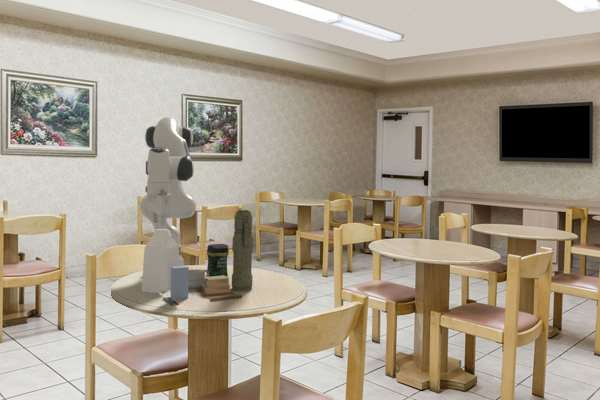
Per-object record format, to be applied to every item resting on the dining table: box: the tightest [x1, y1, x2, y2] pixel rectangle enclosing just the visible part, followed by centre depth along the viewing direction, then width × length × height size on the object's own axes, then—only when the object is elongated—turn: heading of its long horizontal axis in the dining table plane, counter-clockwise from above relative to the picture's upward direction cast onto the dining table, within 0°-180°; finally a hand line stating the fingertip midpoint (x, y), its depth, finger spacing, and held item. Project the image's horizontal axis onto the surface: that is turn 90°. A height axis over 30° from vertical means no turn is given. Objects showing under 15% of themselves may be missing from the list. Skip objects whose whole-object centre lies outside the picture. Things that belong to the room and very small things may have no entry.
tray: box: [195, 287, 243, 302], centre depth 216 cm, size 18×13×2 cm
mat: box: [162, 296, 180, 306], centre depth 209 cm, size 10×10×1 cm
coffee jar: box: [206, 243, 230, 278], centre depth 238 cm, size 10×8×19 cm
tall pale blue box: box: [170, 265, 190, 301], centre depth 208 cm, size 4×6×13 cm, turn 121°
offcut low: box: [202, 284, 231, 294], centre depth 220 cm, size 5×10×3 cm, turn 121°
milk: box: [141, 229, 180, 295], centre depth 225 cm, size 12×12×26 cm
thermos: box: [231, 209, 254, 292], centre depth 226 cm, size 9×12×35 cm
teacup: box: [188, 269, 209, 290], centre depth 230 cm, size 14×11×8 cm
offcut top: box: [204, 276, 230, 287], centre depth 220 cm, size 5×9×3 cm, turn 121°
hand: (158, 224), depth 207 cm, fingers open, 8 cm apart
